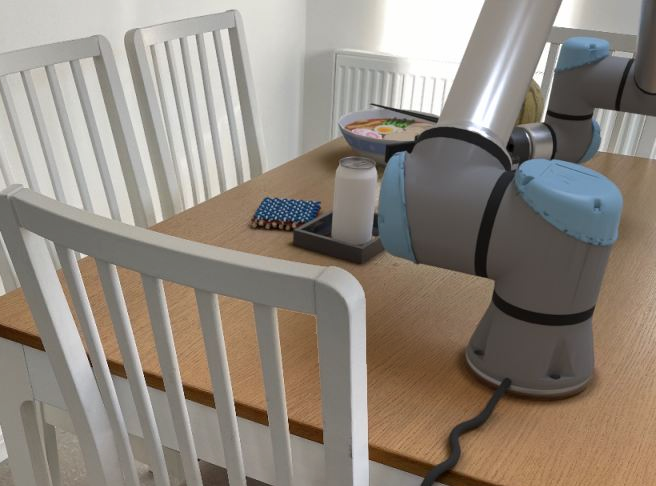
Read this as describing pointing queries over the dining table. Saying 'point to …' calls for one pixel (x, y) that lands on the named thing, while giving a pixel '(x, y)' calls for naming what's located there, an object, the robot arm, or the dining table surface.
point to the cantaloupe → (531, 106)
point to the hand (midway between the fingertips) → (409, 166)
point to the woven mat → (285, 212)
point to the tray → (316, 240)
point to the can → (354, 200)
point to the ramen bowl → (382, 129)
